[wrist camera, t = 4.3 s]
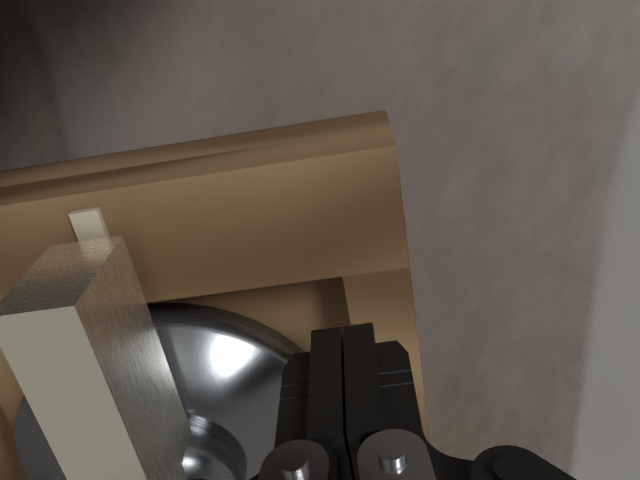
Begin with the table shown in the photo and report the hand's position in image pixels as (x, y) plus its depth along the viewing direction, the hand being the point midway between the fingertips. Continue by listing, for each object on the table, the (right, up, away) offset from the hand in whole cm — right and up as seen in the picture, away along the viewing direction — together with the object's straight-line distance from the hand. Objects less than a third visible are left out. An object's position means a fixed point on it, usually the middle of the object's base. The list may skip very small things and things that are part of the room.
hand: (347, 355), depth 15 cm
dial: (-5, -2, +4) cm, 7 cm away
